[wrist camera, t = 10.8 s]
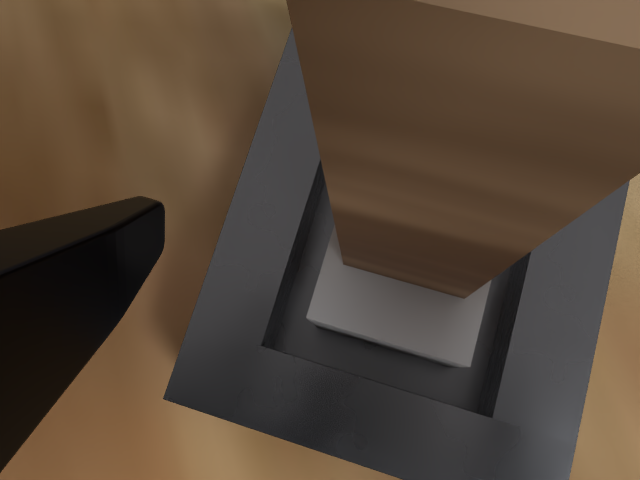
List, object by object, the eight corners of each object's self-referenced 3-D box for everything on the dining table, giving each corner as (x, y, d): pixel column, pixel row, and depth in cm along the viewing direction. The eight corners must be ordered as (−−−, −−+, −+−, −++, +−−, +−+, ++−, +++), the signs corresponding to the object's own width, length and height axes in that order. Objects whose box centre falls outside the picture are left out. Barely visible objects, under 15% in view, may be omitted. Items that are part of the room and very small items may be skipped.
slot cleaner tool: (451, 367, 16) (838, 357, 3) (316, 326, 17) (128, 164, 3) (499, 173, 17) (933, -462, 4) (372, 141, 18) (390, -509, 5)
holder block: (523, 502, 16) (558, 531, 13) (197, 394, 17) (163, 398, 14) (605, 121, 18) (650, 74, 15) (311, 52, 20) (302, -2, 17)
